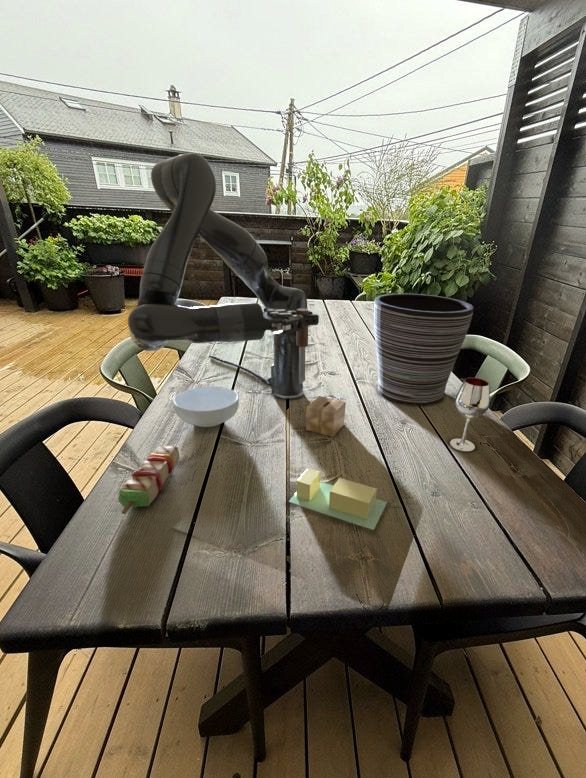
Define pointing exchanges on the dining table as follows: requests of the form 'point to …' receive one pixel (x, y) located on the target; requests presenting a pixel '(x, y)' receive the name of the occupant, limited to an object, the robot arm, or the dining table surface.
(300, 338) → the knife
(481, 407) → the wineglass
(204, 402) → the cereal bowl
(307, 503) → the butter dish
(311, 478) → the butter slice
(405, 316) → the planter pot
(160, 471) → the skewer
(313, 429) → the knife block
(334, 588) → the dining table surface
